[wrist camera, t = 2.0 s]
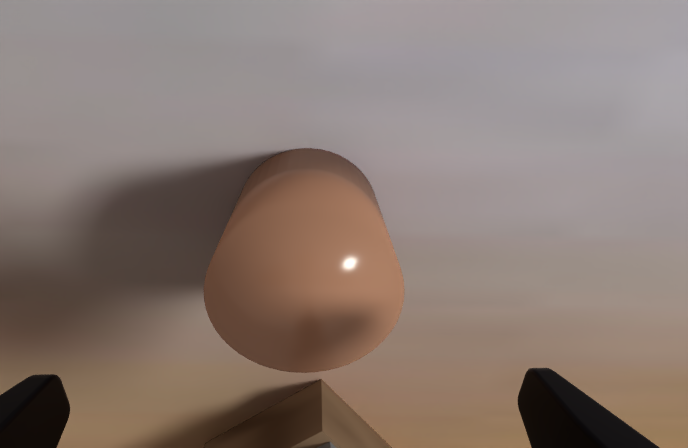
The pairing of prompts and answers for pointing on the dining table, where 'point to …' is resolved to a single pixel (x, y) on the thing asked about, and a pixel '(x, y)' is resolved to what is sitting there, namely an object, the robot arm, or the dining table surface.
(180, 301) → the dining table surface
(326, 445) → the grey block
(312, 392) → the walnut block
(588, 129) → the dining table surface
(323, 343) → the terracotta cylinder
